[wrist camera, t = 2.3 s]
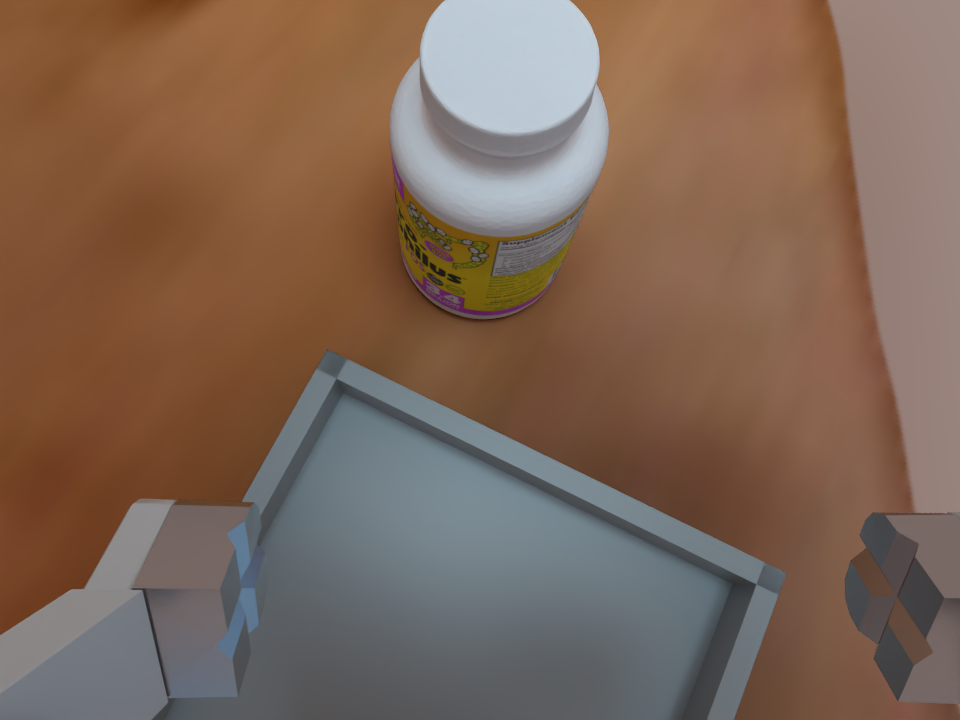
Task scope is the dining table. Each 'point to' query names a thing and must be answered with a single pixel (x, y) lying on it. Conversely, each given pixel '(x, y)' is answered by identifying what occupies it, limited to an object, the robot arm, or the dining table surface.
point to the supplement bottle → (496, 151)
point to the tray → (475, 579)
